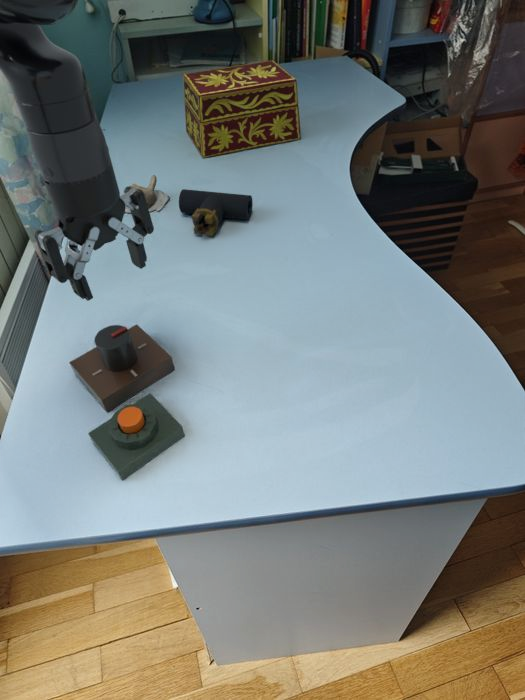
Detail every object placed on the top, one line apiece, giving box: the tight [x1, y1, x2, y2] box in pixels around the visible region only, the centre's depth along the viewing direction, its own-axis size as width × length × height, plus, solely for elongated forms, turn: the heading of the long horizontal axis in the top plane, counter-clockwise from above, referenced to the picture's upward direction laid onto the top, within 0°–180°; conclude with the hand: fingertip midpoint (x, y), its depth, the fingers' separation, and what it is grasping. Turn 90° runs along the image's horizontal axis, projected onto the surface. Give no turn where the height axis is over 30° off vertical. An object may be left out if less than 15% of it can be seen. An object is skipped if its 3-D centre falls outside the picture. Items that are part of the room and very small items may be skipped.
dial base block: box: [69, 324, 176, 413], centre depth 74 cm, size 12×10×3 cm
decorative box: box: [182, 59, 302, 159], centre depth 128 cm, size 28×19×15 cm
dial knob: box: [94, 324, 137, 372], centre depth 72 cm, size 5×5×5 cm
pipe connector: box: [178, 188, 254, 237], centre depth 102 cm, size 12×5×15 cm
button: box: [118, 407, 145, 434], centre depth 64 cm, size 3×3×2 cm
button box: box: [87, 392, 186, 481], centre depth 66 cm, size 10×8×4 cm
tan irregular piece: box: [123, 174, 170, 214], centre depth 108 cm, size 10×12×6 cm
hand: (113, 280), depth 64 cm, fingers open, 8 cm apart
